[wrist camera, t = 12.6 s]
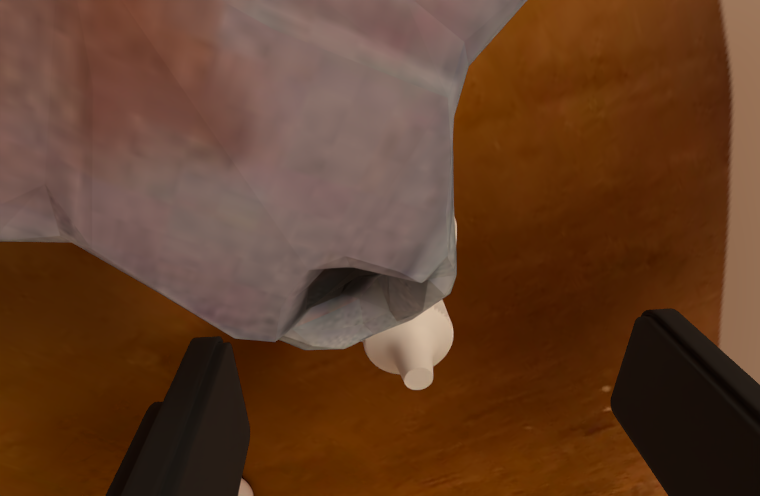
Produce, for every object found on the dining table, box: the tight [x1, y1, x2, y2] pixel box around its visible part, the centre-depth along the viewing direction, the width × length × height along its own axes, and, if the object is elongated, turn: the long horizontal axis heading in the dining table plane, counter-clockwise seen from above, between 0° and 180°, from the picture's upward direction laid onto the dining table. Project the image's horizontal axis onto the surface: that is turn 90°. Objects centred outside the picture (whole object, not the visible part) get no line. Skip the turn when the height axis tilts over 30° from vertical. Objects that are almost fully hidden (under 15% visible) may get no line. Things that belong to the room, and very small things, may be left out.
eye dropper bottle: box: [361, 217, 457, 390], centre depth 16 cm, size 4×6×12 cm
